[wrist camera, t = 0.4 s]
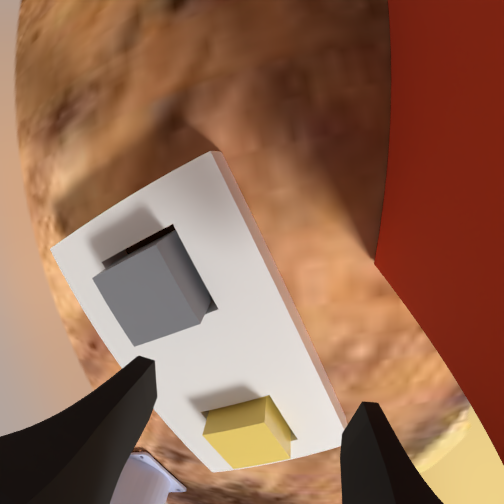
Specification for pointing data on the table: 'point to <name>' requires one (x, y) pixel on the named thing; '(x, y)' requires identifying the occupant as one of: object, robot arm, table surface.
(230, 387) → the board
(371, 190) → the table surface
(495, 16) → the file binder
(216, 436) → the mustard key
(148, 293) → the graphite key
